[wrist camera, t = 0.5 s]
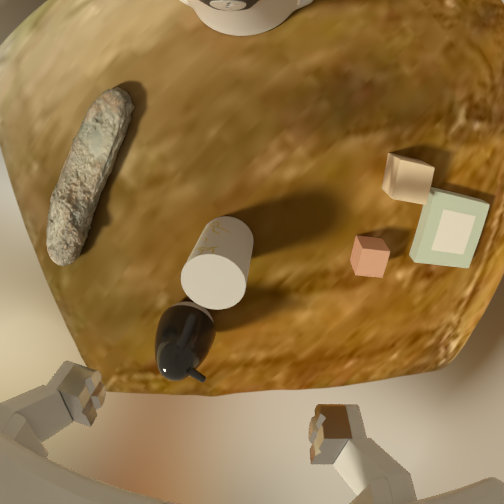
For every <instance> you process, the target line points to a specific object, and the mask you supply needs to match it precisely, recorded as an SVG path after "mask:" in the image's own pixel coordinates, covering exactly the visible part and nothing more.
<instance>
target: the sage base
mask: <svg viewBox="0 0 504 504" xmlns="http://www.w3.org/2000/svg"><path fill="white" fill-rule="evenodd" d="M489 206H490V204H488V203H487V202H485V201H484V200H482V199H478V198H475V197H471V196H467V195H463V194H459V193H455V192H451V191H447V190H443V189H438V188H434V187H430V192H429V196H428V200H427V204H426V205H423V208H422V212H421V216H420V219H419V223H418V227H417V230H416V234H415V237H414V241H413V244H412V247H411V250H410V254H409V255H410V257H411V258H412V260H413V261H414V262H417V263H426V264H435V265H444V266H453V267H461V268H469V265H470V263H471V260H472V257H473V255H474V252H475V249H476V247H477V244H478V241H479V238H480V235H481V232H482V229H483V226H484V223H485V219H486V216H487V213H488V209H489Z"/></svg>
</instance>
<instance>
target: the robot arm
mask: <svg viewBox="0 0 504 504" xmlns="http://www.w3.org/2000/svg"><path fill="white" fill-rule="evenodd" d="M179 1H181V2H182V3H184V4H186V5H188V6H190V7H191V8H192V9H193V10H194V11H195V12H196V14H197V15H198V17H199V18H200V19H201V20H202V21H203V22H204V23H205V24H206V25H208V26H209V27H211V28H212V29H214V30H216V31H219V32H221V33H225V34H229V35H236V36H247V35H255V34H259V33H263V32H266V31H268V30H270V29H272V28H274V27H276V26H278V25H279V24H281V23H282V22H283V21H284V20H285V19H286V18H287V17H288V16H289V15H290V14H291V13H292V12H293V11H295V10H296V9H298V8H301V7H304V6H306V5H308V4H310V3H311V2H313V0H179ZM101 378H102V377H101V374H100V372H99V371H97V370H94V369H91V368H88V367H85V366H82V365H79V364H76V363H72V362H70V361H65V362H63V364H62V365H61V366H60V368H59V369H58V370H57V372H56V373H55V374H54V376H53V377H52V378H51V380H50V381H49V382H48V384H47V385H46V386H45V385H42V386H39V387H37V388H35V389H33V390H30V391H28V392H25V393H23V394H21V395H18V396H16V397H14V398H11V399H9V400H7V401H4V402H2V403H0V504H179V503H174V502H169V501H165V500H161V499H157V498H153V497H149V496H145V495H142V494H138V493H134V492H131V491H128V490H125V489H121V488H118V487H116V486H113V485H110V484H107V483H104V482H101V481H99V480H96V479H93V478H90V477H88V476H86V475H83V474H81V473H78V472H76V471H74V470H71V469H69V468H67V467H64V466H62V465H60V464H58V463H56V462H54V461H52V460H50V459H48V458H46V457H47V456H48V451H47V450H46V448H45V447H44V445H43V444H42V442H43V441H45V440H46V439H48V438H49V437H51V436H52V435H54V434H56V433H57V432H59V431H60V430H62V429H63V428H64V427H66V426H68V425H69V424H71V423H72V422H73V421H75V422H78V423H81V424H84V425H87V426H90V427H91V426H92V424H93V422H94V420H95V418H96V417H97V412H96V410H97V409H99V408H101V407H102V405H103V403H104V400H105V396H106V392H105V387H104V385H103V384H102V383H101V382H100V380H101ZM309 441H310V442H311V443H312V446H311V448H310V460H311V464H333V466H334V467H335V469H336V470H337V471H338V473H339V474H340V475H341V476H342V478H343V479H344V480H345V481H346V483H347V484H348V485H349V486H350V488H351V489H352V490H353V491H354V493H355V494H356V495H357V497H356V498H355V499H354V500H353V501H352V502H351V503H350V504H504V483H503V482H502V481H500V480H498V479H496V478H493V477H490V478H486V479H483V480H481V481H478V482H476V483H473V484H470V485H468V486H465V487H462V488H459V489H456V490H453V491H450V492H446V493H443V494H439V495H436V496H432V497H429V498H425V499H421V500H417V498H416V494H415V490H414V486H413V483H412V479H411V476H410V473H409V472H408V471H407V470H406V469H404V468H403V467H402V466H401V465H400V464H399V463H398V462H397V461H395V460H394V459H393V458H392V457H391V456H390V455H389V454H388V453H386V452H385V451H384V450H383V449H382V448H381V447H380V446H378V445H377V444H376V443H375V442H374V441H373V440H372V439H371V438H367V437H366V433H365V428H364V425H363V420H362V417H361V413H360V409H359V406H358V405H343V404H342V405H341V404H329V405H327V404H318V405H317V406H316V408H315V416H314V417H312V419H311V422H310V425H309Z"/></svg>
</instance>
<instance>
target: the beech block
mask: <svg viewBox="0 0 504 504" xmlns="http://www.w3.org/2000/svg"><path fill="white" fill-rule="evenodd" d="M434 169H435V167H433V166H431V165H429V164H427V163H425V162H423V161H421V160H418V159H414V158H410V157H405V156H401V155H396V154H392V153H388V158H387V163H386V169H385V174H384V179H383V185H382V189H383V190H384V191H385V192H386V193H387V194H388V195H389V196H390V197H391V198H392V199H396V200H402V201H407V202H413V203H418V204H423V205H426V204H427V200H428V196H429V192H430V187H431V183H432V179H433V174H434Z"/></svg>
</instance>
